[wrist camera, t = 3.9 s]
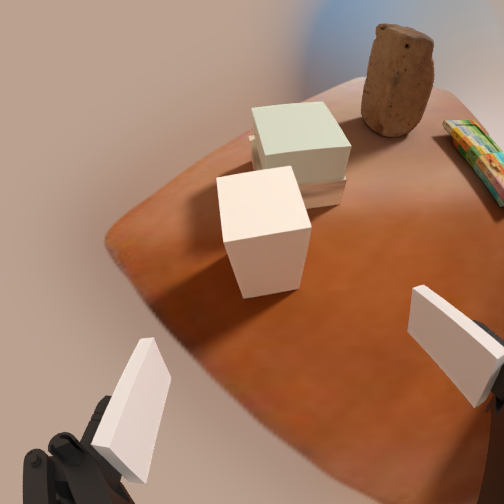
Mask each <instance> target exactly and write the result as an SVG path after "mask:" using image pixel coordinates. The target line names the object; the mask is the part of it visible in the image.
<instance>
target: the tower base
mask: <svg viewBox="0 0 504 504" xmlns="http://www.w3.org/2000/svg"><path fill="white" fill-rule="evenodd" d="M249 143H250V151H251V160H252V165H253V170H254V171H258V170H263V169H262V166H261V162H260V158H259V154H258V150H257V146H256V143H255V139H254V135H253V136H249ZM346 180H347V179H346V177H345V176H344V178H343V179H334V180H325V181H317V182H309V183H302V184H298V187H299V190H300V193H301V196H302V199H303V202H304V205H305V208H306V209H309V208H316V207H324V206H331V205H338V204H340V202H341V199H342V195H343V191H344V188H345V184H346Z"/></svg>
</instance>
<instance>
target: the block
mask: <svg viewBox="0 0 504 504" xmlns="http://www.w3.org/2000/svg"><path fill="white" fill-rule="evenodd" d="M376 36H377V37H376V39H375V40H374V42H373V46H372V50H371V55H370V59H369V65H368V71H367V78H366V81H365V84H364V90H363V96H362V105H361V114H362V117H363V119H364V121H365V122H366V124H367V125H368V126H369V128H370V129H372V130H373V131H375V132H377V133H379V134H381V135H383V136H388V137H399V136H401V135H404V134H406V133H409V132H410V131H411V130H413V129H414V128H415V127H416V126H417V124H418V123H419V122H420V120H421V118H422V116H423V114H424V111H425V108H426V105H427V102H428V99H429V97H430V93H431V90H432V87H433V82H434V62H433V59H432V52H433V47H434V42H433V40H432V39H431V38H430V37H428V36H427V35H425V34H423V33H421V32H419V31H416V30H414V29H413V28H409V27H402V26H399V25H395V24H379V25H378V26H377V27H376Z"/></svg>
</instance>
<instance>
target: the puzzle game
mask: <svg viewBox="0 0 504 504" xmlns="http://www.w3.org/2000/svg"><path fill="white" fill-rule="evenodd" d="M443 127H444V129H445V130H446V131H447V132H448V133H449V134H450V135H451V136H452V137H453V144H454V147H455V148H456V149H457V150H458V151H459V152H460V154H461V155H462V156H463V157H464V158H465V159H466V161H467V162H468V163H469V164H470V166H471V167H472V168H473V169H474V171H475V172H476V173H477V175H478V176H479V177H480V179H481V180H482V181H483V183H484V184H485V185H486V187H487V188H488V190H489V191H490V192H491V194H492V195H493V197H494V198H495V200H496V201H497V203H498V204H499V206H500V207H502V206H504V153H503V152H502V150H501V149H500V148H499V147H498V146H497V145H496V144H495V142H494V141H493V140H492V139H491V138H490V137H489V136H488V135H487V134H486V133H485V132H484V131H483V129H482V128H481V127H480V126H479V125H478V124H477V123H476V122H475V121H470V120H452V121H444V122H443Z"/></svg>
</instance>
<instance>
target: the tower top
mask: <svg viewBox="0 0 504 504" xmlns="http://www.w3.org/2000/svg"><path fill="white" fill-rule="evenodd" d="M251 110H252V119H253V129H254V139H255V143H256V146H257V150H258V154H259V158H260V162H261V166H262V169H263V170H264V169H271V168H278V167H285V166H291V167H292V170H293V173H294V176H295V178H296V181H297V184H302V183H309V182H317V181H325V180H334V179H343V178H344V176H345V172H346V168H347V164H348V160H349V155H350V151H351V147H352V146H351V144H350V143H349V141H348V139H347V138H346V136H345V134H344V133H343V131H342V130H341V128H340V126H339V125H338V123H337V122H336V120H335V119H334V117H333V116H332V114H331V113H330V111H329V110H328V108H327V107H326V105H325V104H324V102H307V103H293V104H282V105H273V106H264V107H257V108H251Z"/></svg>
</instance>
